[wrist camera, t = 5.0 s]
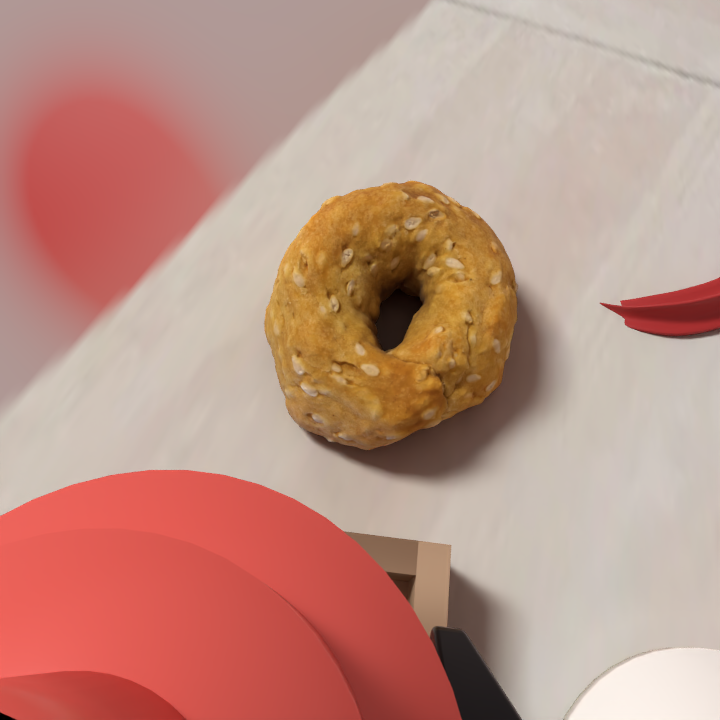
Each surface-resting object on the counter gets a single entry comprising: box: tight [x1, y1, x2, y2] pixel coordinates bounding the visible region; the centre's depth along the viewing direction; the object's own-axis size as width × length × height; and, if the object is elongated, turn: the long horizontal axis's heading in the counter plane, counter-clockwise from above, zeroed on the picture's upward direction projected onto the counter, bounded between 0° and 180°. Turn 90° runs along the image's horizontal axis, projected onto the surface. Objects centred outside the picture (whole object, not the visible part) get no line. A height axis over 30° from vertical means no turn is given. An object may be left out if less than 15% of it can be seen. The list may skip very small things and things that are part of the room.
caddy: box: [343, 531, 451, 638], centre depth 17 cm, size 9×9×3 cm
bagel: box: [265, 181, 518, 450], centre depth 22 cm, size 10×11×5 cm
